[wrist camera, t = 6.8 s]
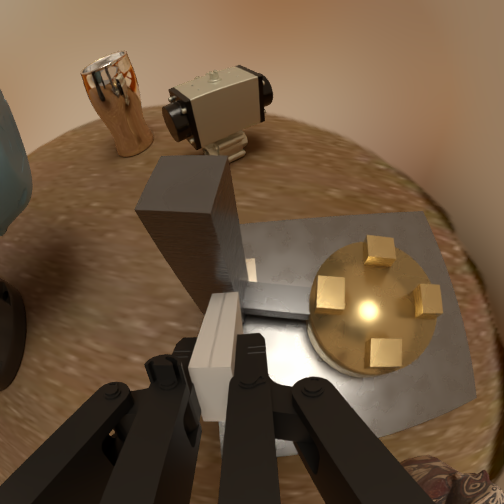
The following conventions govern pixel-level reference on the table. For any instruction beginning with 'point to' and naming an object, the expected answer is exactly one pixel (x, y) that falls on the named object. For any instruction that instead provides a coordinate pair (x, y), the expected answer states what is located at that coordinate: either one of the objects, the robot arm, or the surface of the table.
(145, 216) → the metal fixture
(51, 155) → the table surface
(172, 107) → the pneumatic valve
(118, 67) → the beer glass
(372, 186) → the table surface
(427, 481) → the figurine
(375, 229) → the base plate
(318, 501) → the table surface
